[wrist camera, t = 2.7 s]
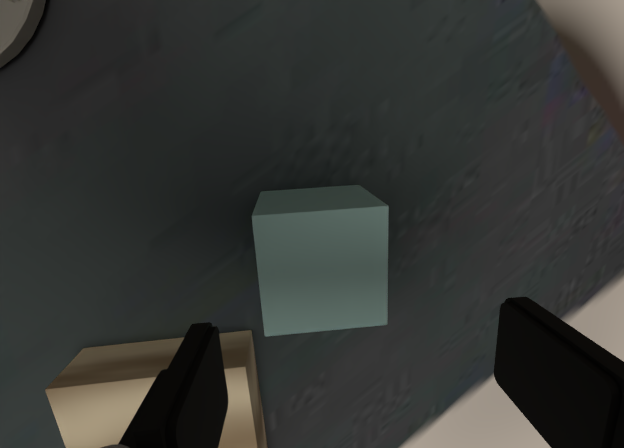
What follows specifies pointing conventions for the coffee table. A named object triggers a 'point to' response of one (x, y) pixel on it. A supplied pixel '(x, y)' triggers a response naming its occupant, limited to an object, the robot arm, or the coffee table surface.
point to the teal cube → (321, 259)
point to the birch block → (136, 383)
